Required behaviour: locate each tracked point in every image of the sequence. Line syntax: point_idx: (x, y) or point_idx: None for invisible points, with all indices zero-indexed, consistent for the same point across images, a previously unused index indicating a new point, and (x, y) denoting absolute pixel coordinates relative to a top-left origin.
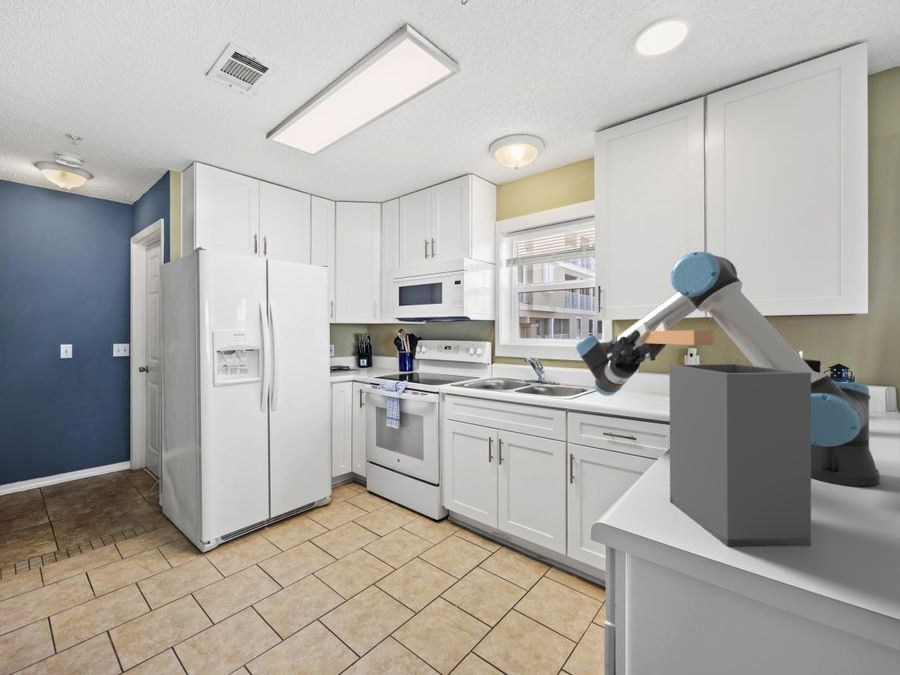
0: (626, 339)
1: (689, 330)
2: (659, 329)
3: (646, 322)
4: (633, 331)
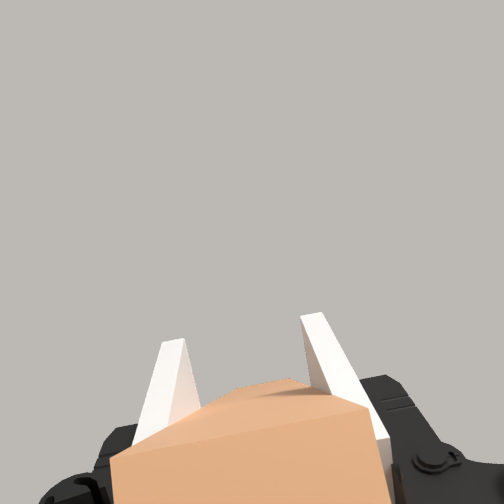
0: (502, 485)
1: (289, 378)
2: (186, 401)
3: (302, 321)
4: (359, 405)
